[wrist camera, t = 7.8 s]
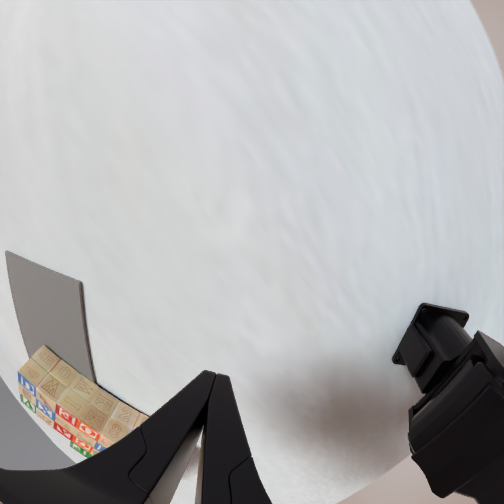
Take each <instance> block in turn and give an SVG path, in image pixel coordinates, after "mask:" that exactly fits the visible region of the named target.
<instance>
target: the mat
mask: <svg viewBox="0 0 504 504" xmlns="http://www.w3.org/2000/svg"><path fill="white" fill-rule="evenodd" d="M5 256H6V263H7V270H8V276H9V282H10V288H11V293H12V298H13V302H14V307H15V311H16V315H17V319H18V323H19V327H20V330H21V334H22V337H23V341H24V344H25V347H26V350H27V353H28V356H29V359H30V358H31V356H32V355H33V354H34V353H35V352H36V351H37V350H38V349H39V348H40V347H42V346H43V345H45V346H46V347H47V348H48V349H49V350H50V351H52V352H53V353H54V354H55V355H56V356H57V357H59V358H60V359H62V360H63V361H65V362H66V363H67V364H69V365H70V366H71V367H72V368H74V369H75V370H76V371H78V372H79V373H80V374H82V375H83V376H85V377H86V378H87V379H89V380H90V381H92V382H93V383H95V378H94V374H93V369H92V364H91V359H90V353H89V347H88V341H87V334H86V327H85V319H84V311H83V301H82V290H81V281H78V280H75V279H73V278H70V277H68V276H65V275H63V274H60V273H58V272H55V271H53V270H50V269H48V268H45V267H43V266H41V265H38V264H36V263H34V262H31V261H29V260H27V259H25V258H22V257H20V256H18V255H16V254H14V253H11V252H9V251H5ZM95 384H96V383H95Z"/></svg>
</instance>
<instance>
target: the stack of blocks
mask: <svg viewBox="0 0 504 504" xmlns="http://www.w3.org/2000/svg"><path fill="white" fill-rule="evenodd" d="M18 382H19V383H18V384H19V392H20V398H21V402H22V403H24V404H25V405H26V406H27V407H28V408H29V409H30V410H32V411H33V412H34V413H35V414H36V415H37V416H38V417H39V418H40V419H42V420H43V421H44V422H45V423H47V424H48V425H49V426H51V427H52V428H54V429H55V430H57V431H58V432H59V433H61V434H62V435H64V436H65V437H66V438H68V439H69V440H71V442H70V447H72V448H73V449H75V450H76V451H77V452H79V453H80V454H82V455H83V456H85V457H87V458H89V457H91V456H93V455H95V454H97V453H99V452H100V451H102V450H104V449H106V448H108V447H109V446H111V445H113V444H114V443H116V442H117V441H119V440H120V439H122V438H123V437H125V436H126V435H127V434H129V433H130V432H131V431H133V430H134V429H135V428H136V427H138V426H139V427H140V424H141V423H143V422H144V421H145V420H146V419H148V418H149V417H148V416H146V415H144V414H143V413H140V412H138V411H136V410H134V409H133V408H131V407H129V406H128V405H126V404H124V403H123V402H121V401H119V400H118V399H117V398H115V397H113V396H112V395H110V394H109V393H107V392H106V391H104V390H103V389H101V388H99V387H98V386H97V385H96V384H95V383H93V382H92V381H90V380H89V379H87V378H86V377H85V376H83V375H82V374H80V373H79V372H78V371H76V370H75V369H74V368H72V367H71V366H70V365H69V364H67V363H66V362H65V361H63V360H62V359H60V358H59V357H57V356H56V355H55V354H54V353H53V352H52V351H50V350H49V349H48V348H47V347H46V346H45V345H43V346H42V347H40V348H39V349H38V350H37V351H36V352H35V353H34V354H33V355H32V356H31V358H30V359H29V360H28V361H27V362H26V363H25V364H24V365H23V366H22V367H21V368H20V369H19V370H18Z"/></svg>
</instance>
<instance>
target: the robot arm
mask: <svg viewBox="0 0 504 504" xmlns="http://www.w3.org/2000/svg"><path fill="white" fill-rule="evenodd" d="M423 308H425V309H424V310H423ZM468 319H469V314H468V313H467V312H465V311H460V310H456V309H451V308H447V307H442V306H437V305H433V304H428V303H422V304H421V305H420V306H419V308H418V310H417V312H416V314H415V316H414V318H413V320H412V322H411V324H410V326H409V327H408V329H407V331H406V333H405V335H404V337H403V339H402V340H401V342H400V344H399V346H398V348H397V350H396V352H395V354H394V355H393V357H392V361H393V363H394V364H399V365H406V366H407V368H408V370H409V372H410V374H411V376H412V377H414V378H415V380H416V382H417V384H418V386H419V388H420V390H421V393H422V394H426V395H425V396H424V397H423V398H422V399H421V400H420V401H419V402H418V403H417V404H416V405H414V406H412V407H411V408H410V409H409V410H408V412H409V433H408V440H409V446H410V451H411V453H412V454H413V455H412V456H411V458H412V459H413V460H414V461H415V462H416V463H417V465H419V467H420V468H421V470H422V471H423V473H424V474H425V476H426V478H427V480H428V483H429V485H430V488H431V490H432V492H433V493H434V494H435V495H437V496H438V497H440V498H445V497H447V496H448V495H449V494H451V493H453V492H455V493H458V494H461V495H464V496H467V497H471V498H474V499H475V500H476V502H477V503H478V504H504V347H503V346H502V345H501V344H500V343H498V342H497V341H495V340H494V339H492V338H490V337H489V336H487V335H485V334H484V333H482V332H480V331H479V330H478V331H477V332H476V334H475V335H474V338H473V340H472V338H471V337H470V336H469V335H468V334H467V332H466V331H465V330H464V329H463V328H464V326H465V325H466V323H467V321H468ZM397 358H398V359H397ZM203 426H204V427H203ZM202 430H203V433H202V440H201V449H200V458H199V467H198V477H197V487H196V497H195V504H272V502H271V500H270V499H269V497H268V495H267V493H266V491H265V489H264V487H263V484H262V482H261V480H260V478H259V475H258V472H257V470H256V467H255V464H254V461H253V458H252V457H251V456H252V455H251V451H250V448H249V445H248V441H247V438H246V435H245V431H244V428H243V424H242V421H241V417H240V414H239V410H238V407H237V403H236V400H235V396H234V392H233V389H232V385H231V381H230V378H229V376H227V375H223V374H219V373H218V374H217V375H216V373H215V372H212V371H208V370H204V371H202V372H201V373H200V374H199V375H198V376H197V377H196V378H195V379H193V380H192V381H191V382H190V383H189V384H188V385H187V386H185V387H184V388H183V389H182V390H181V391H180V392H178V393H177V394H176V395H175V396H174V397H173V398H171V399H170V400H169V401H168V402H167V403H166V404H164V405H163V406H162V407H161V408H160V409H158V410H157V411H156V412H155V413H154V414H152V415H151V416H150V417H149V418H148V419H146V420H145V421H144V422H143V423H141V424H140V427H139V426H138V427H136V428H135V429H134V430H133V431H131V432H130V433H129V434H127V435H126V436H125V437H123V438H122V439H120V440H119V441H117V442H116V443H114V444H113V445H111V446H109V447H108V448H106V449H104V450H102V451H100V452H99V453H97V454H95V455H93V456H91V457H89V458H87V459H85V460H83V461H81V462H79V463H77V464H76V465H73V466H71V467H67V468H63V469H56V470H30V471H29V470H27V471H26V470H24V471H23V470H6V469H2V468H0V504H170V502H171V500H172V498H173V495H174V493H175V491H176V489H177V487H178V484H179V482H180V480H181V478H182V476H183V473H184V471H185V469H186V467H187V464H188V462H189V460H190V458H191V455H192V453H193V451H194V449H195V446H196V444H197V442H198V440H199V437H200V435H201V432H202Z"/></svg>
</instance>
